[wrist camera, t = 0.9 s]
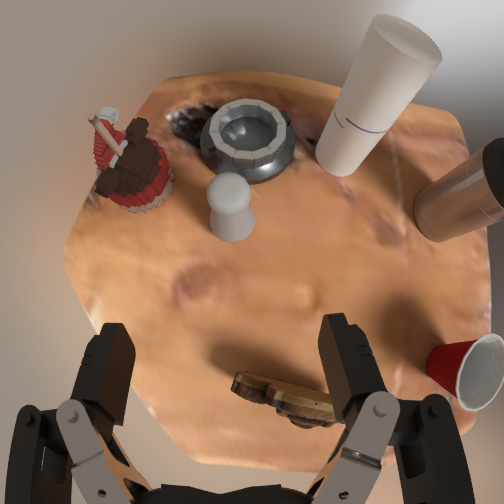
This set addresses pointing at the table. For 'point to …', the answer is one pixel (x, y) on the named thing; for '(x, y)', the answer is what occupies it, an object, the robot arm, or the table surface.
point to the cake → (130, 164)
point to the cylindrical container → (376, 91)
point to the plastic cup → (469, 370)
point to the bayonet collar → (248, 140)
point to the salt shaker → (230, 207)
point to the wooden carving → (287, 399)
